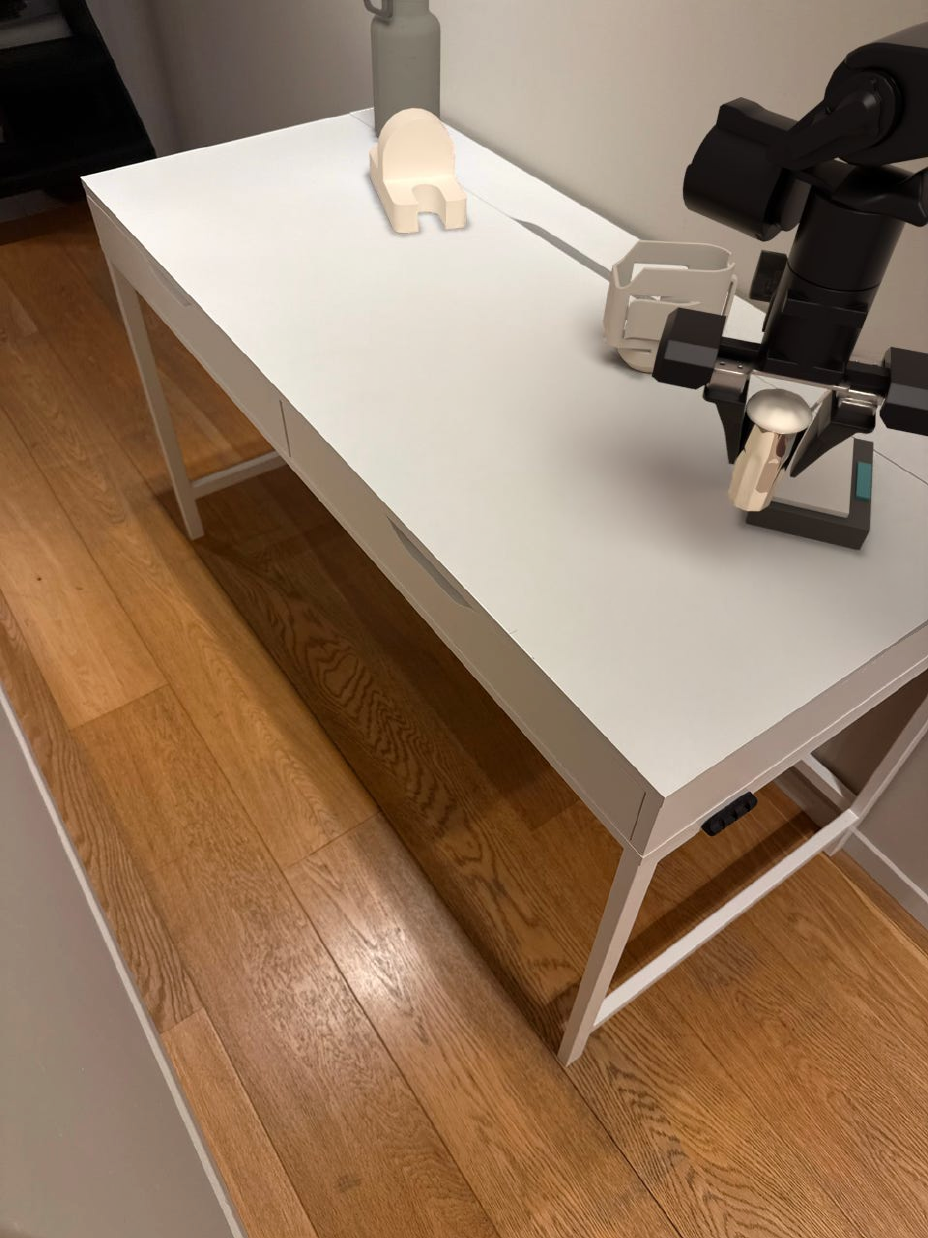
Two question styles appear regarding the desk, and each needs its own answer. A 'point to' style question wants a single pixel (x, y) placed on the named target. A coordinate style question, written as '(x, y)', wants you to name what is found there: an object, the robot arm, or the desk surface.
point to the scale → (825, 497)
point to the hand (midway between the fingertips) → (762, 467)
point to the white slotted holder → (417, 171)
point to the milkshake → (768, 445)
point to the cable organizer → (664, 294)
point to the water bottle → (404, 58)
